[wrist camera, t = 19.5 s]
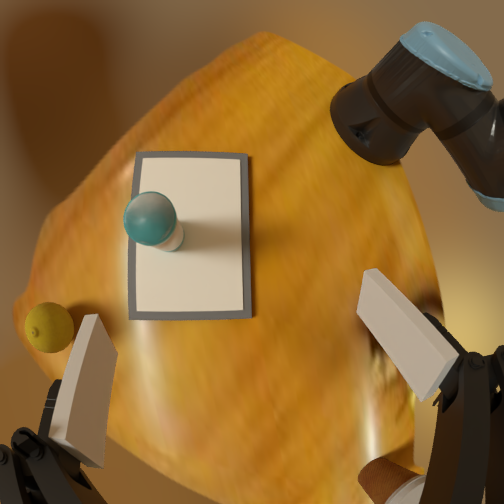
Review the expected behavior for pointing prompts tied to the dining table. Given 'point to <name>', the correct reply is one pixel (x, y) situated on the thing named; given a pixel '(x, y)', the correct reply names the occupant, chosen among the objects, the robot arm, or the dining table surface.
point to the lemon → (49, 327)
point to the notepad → (194, 239)
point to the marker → (153, 222)
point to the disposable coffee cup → (391, 483)
